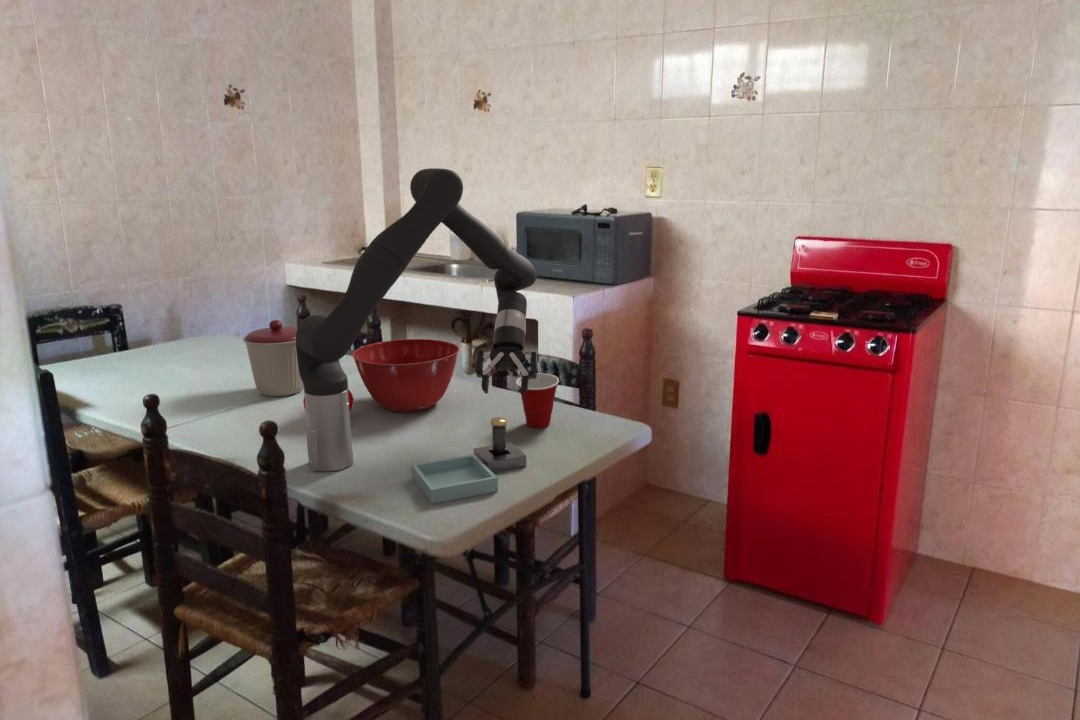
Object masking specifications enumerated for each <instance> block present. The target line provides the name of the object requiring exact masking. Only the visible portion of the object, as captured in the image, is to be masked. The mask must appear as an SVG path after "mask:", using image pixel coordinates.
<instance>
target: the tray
mask: <svg viewBox="0 0 1080 720" xmlns="http://www.w3.org/2000/svg"><path fill="white" fill-rule="evenodd" d="M411 478H412V480H414V483H415V485H417V486H418V487H419V489H420V490H421V492H422V493H423V494H424V495H425V497H426V498H427V499H428V501H429V502H430V503H431V504H432V505H434V504H439V503H444V502H449V501H455V500H460V499H464V498H470V497H475V496H480V495H486V494H491V493H496V492H499V476H497V475H496V474H495V472H492V471H491V470H490V469H489V468H488V467H487V466H486V465H485V464H483V463H482V462H481V461H480V460H479V459H478V458H477V457H476V456H475V455H474V453H472V454H467V455H462V456H454V457H449V458H444V459H438V460H432V461H426V462H420V463H415V464H413V463H412V464H411Z"/></svg>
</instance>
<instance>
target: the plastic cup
mask: <svg viewBox="0 0 1080 720" xmlns="http://www.w3.org/2000/svg"><path fill="white" fill-rule="evenodd" d="M559 379H560V378H559V377H558V376H556V375H553V374H549V373H538V372H537V378H535V379H533V378H531V379H529V381H528V391H527V392H525V394H524V395H523V394H521V381H522V376H520V377H518V378H517V379H516V380H515V384H516V386H517V387H518V389H519V392H520V397H521V401H522V402H521V403H522V407H523V412H524V417H525V421H526V425H527V426H528V427H530V428H532V429H533V428H534V429H543V428H546V427H549V426H550V423H551V419H552V414H553V410H554V402H555V397H556V392H557V391H556V390H557V387H558V384H559V383H560V380H559Z"/></svg>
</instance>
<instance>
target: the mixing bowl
mask: <svg viewBox="0 0 1080 720" xmlns="http://www.w3.org/2000/svg"><path fill="white" fill-rule="evenodd" d="M459 352H460V347H459V346H458V345H457V344H455V343H452V342H449V341H445V340H439V339H428V338H426V339H425V338H408V339H407V338H406V339H393V340H385V341H379V342H375V343H369V344H366V345H364V346H362V347H359V348H357V349H355V350H354V351H353V352H352V355H351V356H352V358H353V359H354V362H355V366H356V367H357V371H358V373H359V376H360V379H361V380H362V383H363V384H364V386H365V388H366V389H367V392H368V393H369V395H370V396H371V398H372V399H373V400H374V402H376V403H377V404H378V405H379V406H381V407H383V408H385V409H386V410H389V411H392V412H396V413H397V412H398V413H412V412H419V411H420V412H421V411H423V410H427V409H429V408H432V407H433V406H434V405H435V404H437V403H438V402H439V401H440V400H441V399H442V398H443V397H444V395H445V393H446V391H447V389H448V387H449V384H450V383H451V380H452V377H453V374H454V371H455V368H456V364H457V360H458V354H459Z"/></svg>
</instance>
